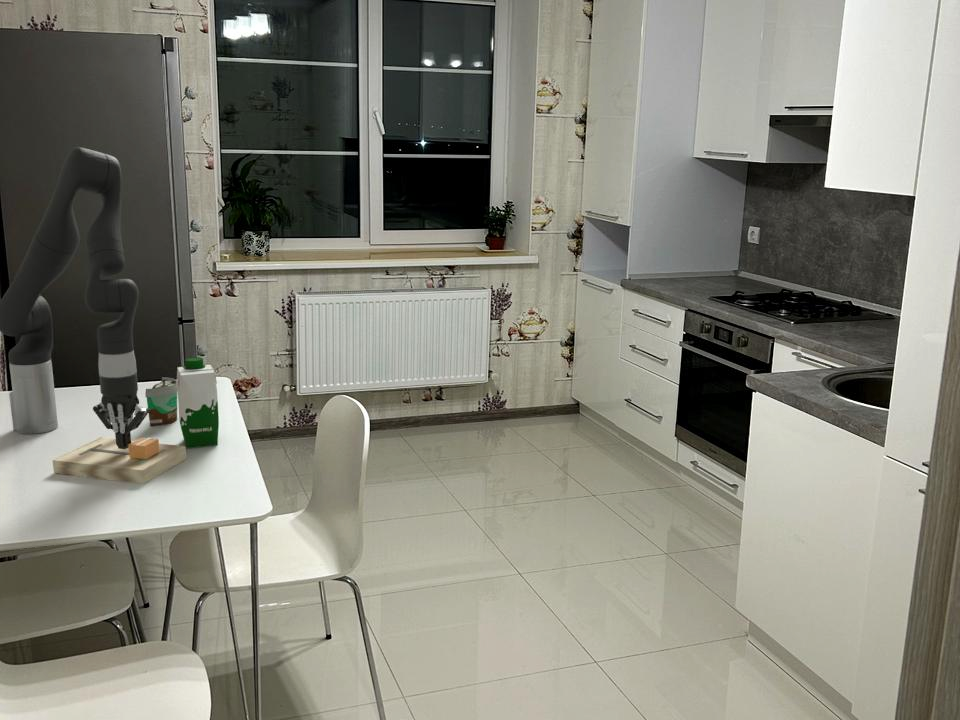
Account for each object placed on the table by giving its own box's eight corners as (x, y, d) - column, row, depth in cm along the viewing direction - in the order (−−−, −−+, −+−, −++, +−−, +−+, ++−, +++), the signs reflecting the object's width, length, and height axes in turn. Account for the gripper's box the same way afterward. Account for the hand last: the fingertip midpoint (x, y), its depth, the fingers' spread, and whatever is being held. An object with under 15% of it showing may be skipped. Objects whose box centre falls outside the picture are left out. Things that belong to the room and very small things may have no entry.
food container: (172, 428, 227) (169, 389, 225) (147, 427, 227) (144, 389, 225) (188, 413, 239) (186, 377, 237) (165, 413, 239) (162, 376, 237)
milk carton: (216, 434, 222) (212, 355, 218) (222, 446, 214) (217, 363, 210) (179, 439, 219) (173, 358, 214) (183, 450, 211) (177, 367, 206)
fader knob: (129, 457, 197) (128, 444, 196) (143, 450, 201) (142, 436, 201) (145, 459, 196) (144, 445, 195) (159, 451, 200) (158, 438, 200)
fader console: (53, 473, 196) (52, 459, 195) (101, 449, 211) (100, 436, 210) (143, 483, 190) (142, 469, 190) (186, 458, 206) (185, 445, 205)
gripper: (155, 369, 198) (160, 445, 202) (102, 365, 201) (108, 439, 205) (134, 378, 190) (140, 456, 195) (79, 373, 194) (86, 450, 198)
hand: (123, 447), depth 200 cm, fingers closed
